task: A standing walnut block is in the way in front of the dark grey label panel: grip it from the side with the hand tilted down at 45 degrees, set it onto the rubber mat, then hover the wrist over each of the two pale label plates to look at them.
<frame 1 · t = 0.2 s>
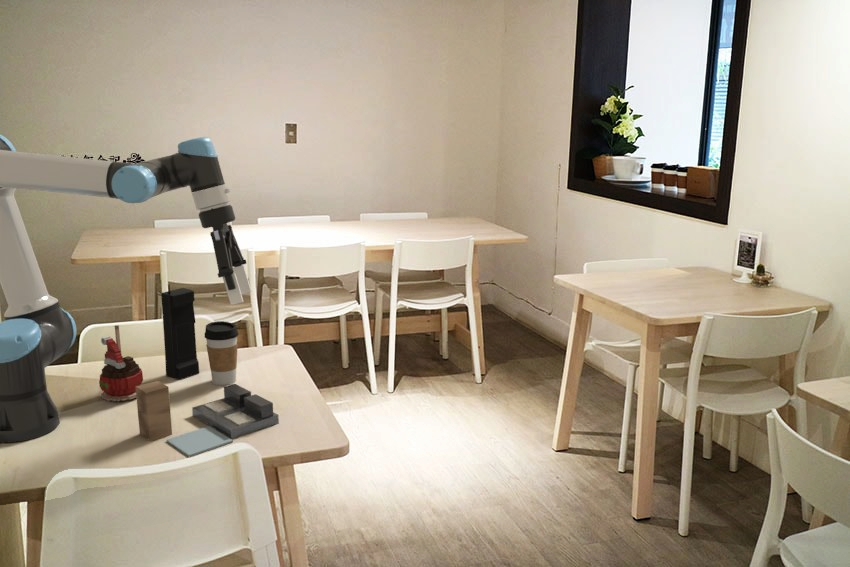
hand: (241, 298, 175), 27 cm above the table, tool pointing down, fingers open, 13 cm apart
cake: (123, 396, 187), on the table
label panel: (235, 419, 174), on the table
portable radio: (184, 374, 202), on the table
mat: (199, 441, 163), on the table
walnut block: (155, 434, 166), on the table
coffee cup: (224, 381, 197), on the table
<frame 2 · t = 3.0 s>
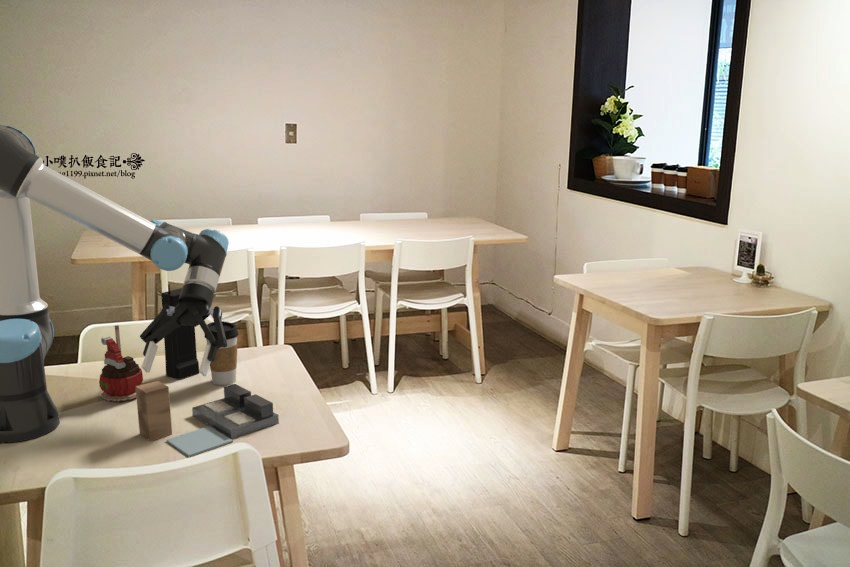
hand: (173, 372, 171), 12 cm above the table, tool tilted 45°, fingers open, 13 cm apart
nothing on the table moved.
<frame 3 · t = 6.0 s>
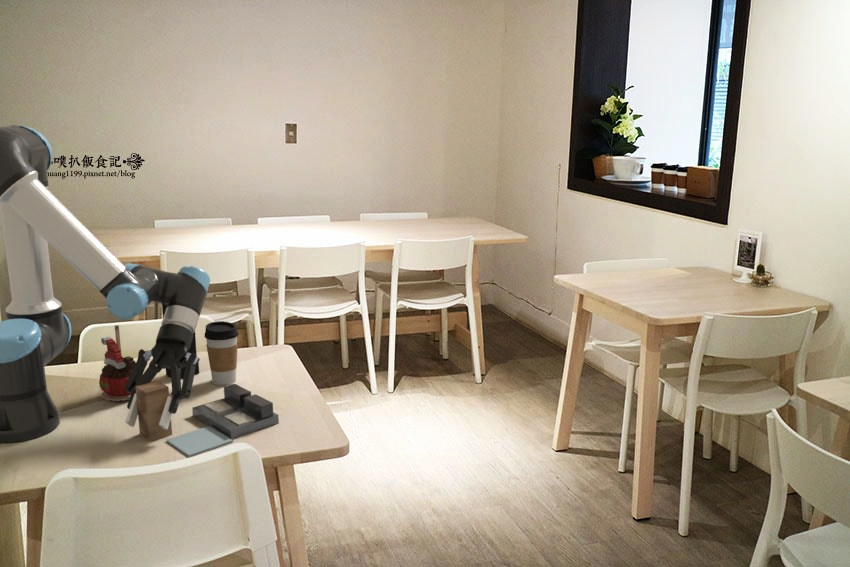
hand: (146, 425, 162), 4 cm above the table, tool tilted 45°, fingers closed on walnut block, 7 cm apart
walnut block: (155, 434, 166), on the table, touching gripper
everything else where it was.
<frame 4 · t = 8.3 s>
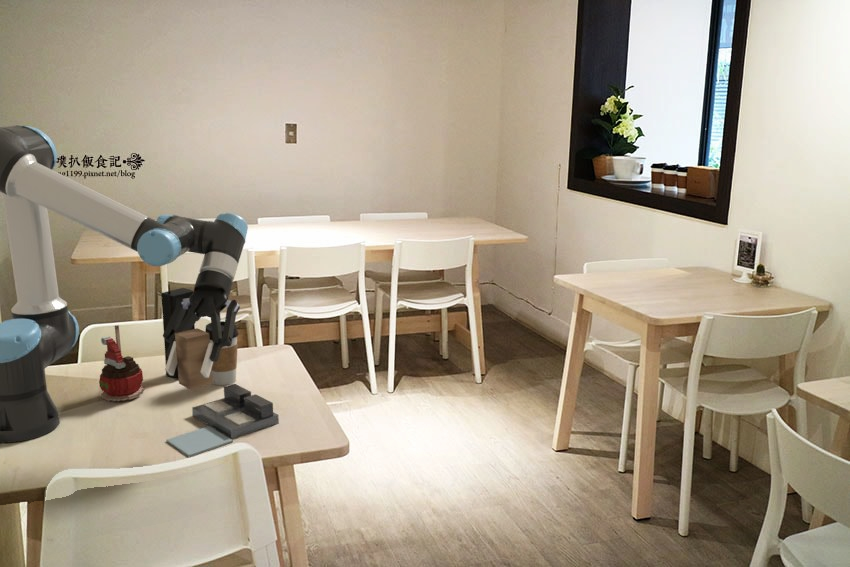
hand: (186, 373, 156), 17 cm above the table, tool tilted 45°, fingers closed on walnut block, 7 cm apart
walnut block: (195, 383, 160), point 13 cm above the table, touching gripper
everything else where it was.
when the fingers open (5 cm above the table, at t = 10.8 s): walnut block stays where it is, resting on mat.
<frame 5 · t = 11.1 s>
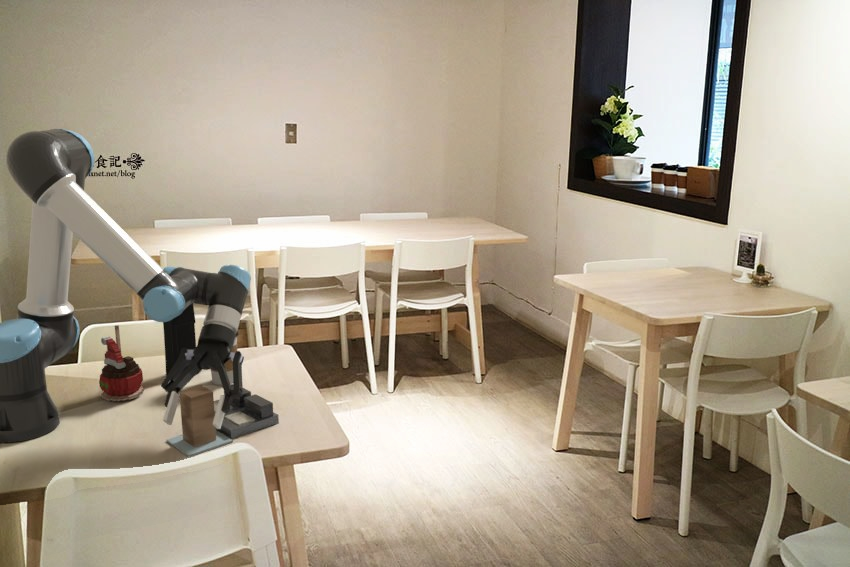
hand: (191, 424, 159), 5 cm above the table, tool tilted 45°, fingers open, 10 cm apart
walnut block: (199, 439, 163), resting on mat
everything else where it was.
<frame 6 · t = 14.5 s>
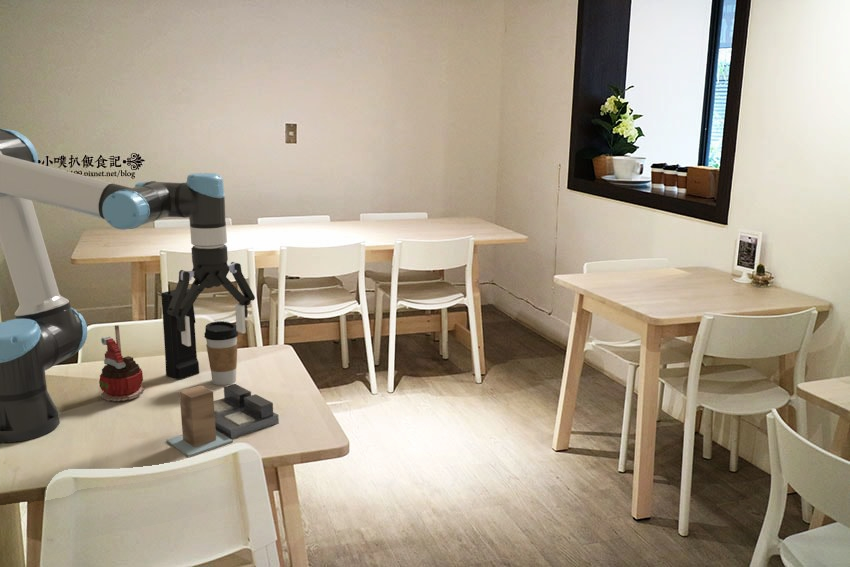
hand: (214, 338, 172), 18 cm above the table, tool pointing down, fingers open, 13 cm apart
nothing on the table moved.
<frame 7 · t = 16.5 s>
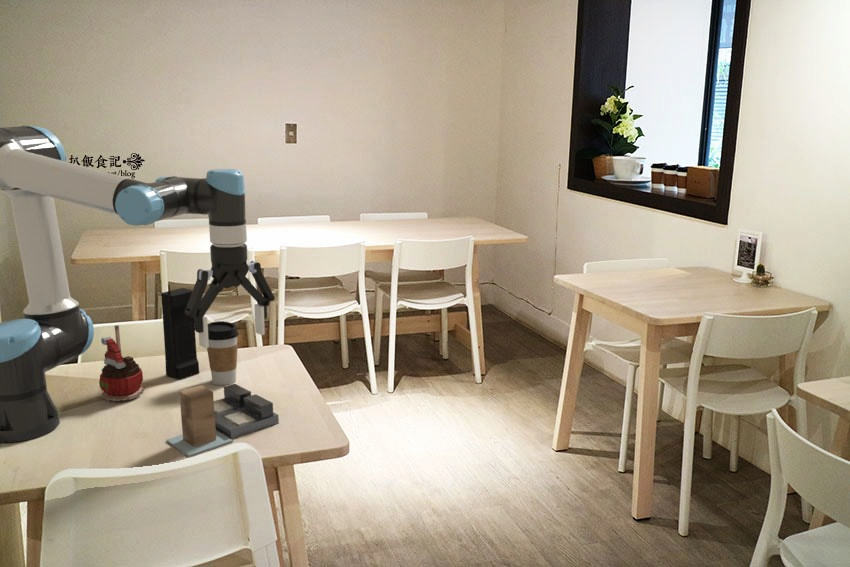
hand: (232, 339, 166), 20 cm above the table, tool pointing down, fingers open, 13 cm apart
nothing on the table moved.
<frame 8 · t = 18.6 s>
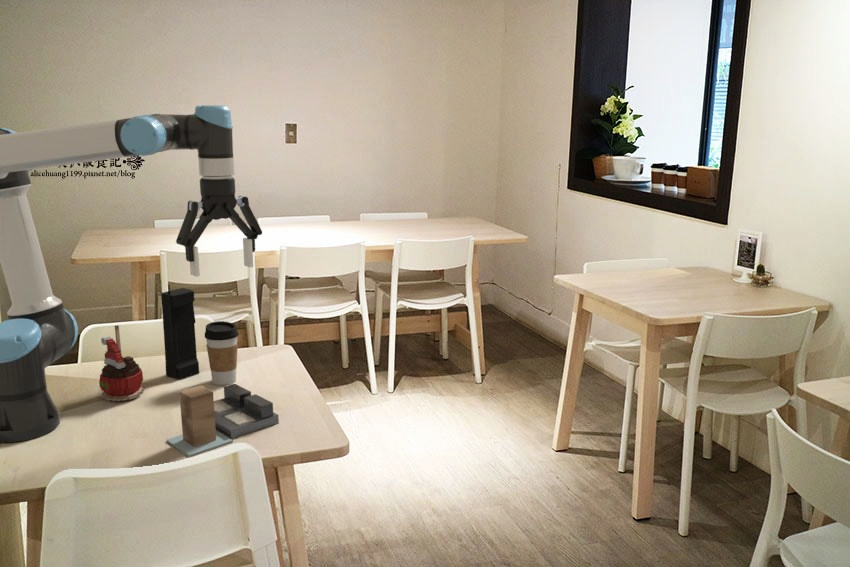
hand: (222, 270, 174), 33 cm above the table, tool pointing down, fingers open, 13 cm apart
nothing on the table moved.
at the end: walnut block 0.1 cm from the mat (horizontally); walnut block tilted 0°; the gripper is holding nothing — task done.
